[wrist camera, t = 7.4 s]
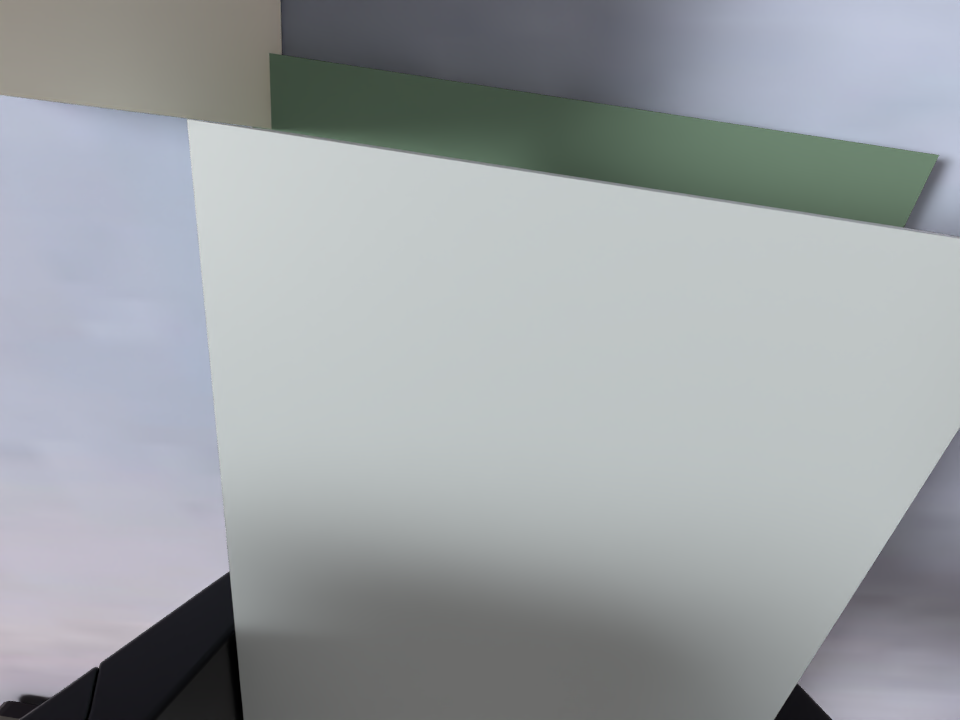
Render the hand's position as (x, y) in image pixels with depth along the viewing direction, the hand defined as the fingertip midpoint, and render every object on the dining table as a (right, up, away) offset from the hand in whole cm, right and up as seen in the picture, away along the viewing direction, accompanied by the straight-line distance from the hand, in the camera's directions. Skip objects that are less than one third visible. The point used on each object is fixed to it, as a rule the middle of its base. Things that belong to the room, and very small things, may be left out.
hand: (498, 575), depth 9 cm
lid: (0, 0, -1) cm, 1 cm away
